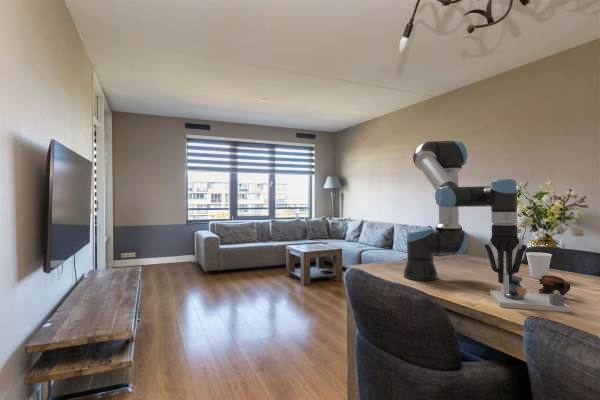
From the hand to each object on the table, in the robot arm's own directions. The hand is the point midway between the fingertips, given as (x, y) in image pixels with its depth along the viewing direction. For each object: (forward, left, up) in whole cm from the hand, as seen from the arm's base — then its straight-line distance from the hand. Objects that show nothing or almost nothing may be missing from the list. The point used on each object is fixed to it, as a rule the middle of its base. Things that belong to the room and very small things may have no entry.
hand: (505, 292), depth 113 cm
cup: (+25, +51, -5) cm, 57 cm away
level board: (+8, +8, -5) cm, 12 cm away
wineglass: (+9, +28, -5) cm, 30 cm away
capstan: (+4, +4, -3) cm, 7 cm away
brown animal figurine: (+21, +21, -5) cm, 31 cm away
